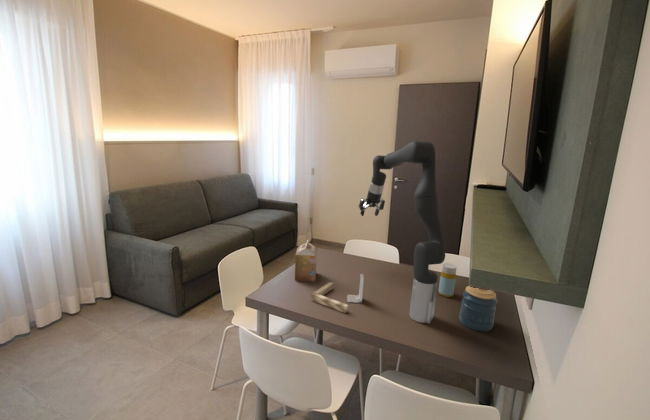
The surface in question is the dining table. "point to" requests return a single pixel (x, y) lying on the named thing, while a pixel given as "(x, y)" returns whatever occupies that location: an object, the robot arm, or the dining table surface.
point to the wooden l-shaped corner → (326, 301)
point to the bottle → (447, 280)
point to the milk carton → (305, 262)
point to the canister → (478, 309)
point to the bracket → (359, 297)
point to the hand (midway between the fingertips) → (368, 215)
